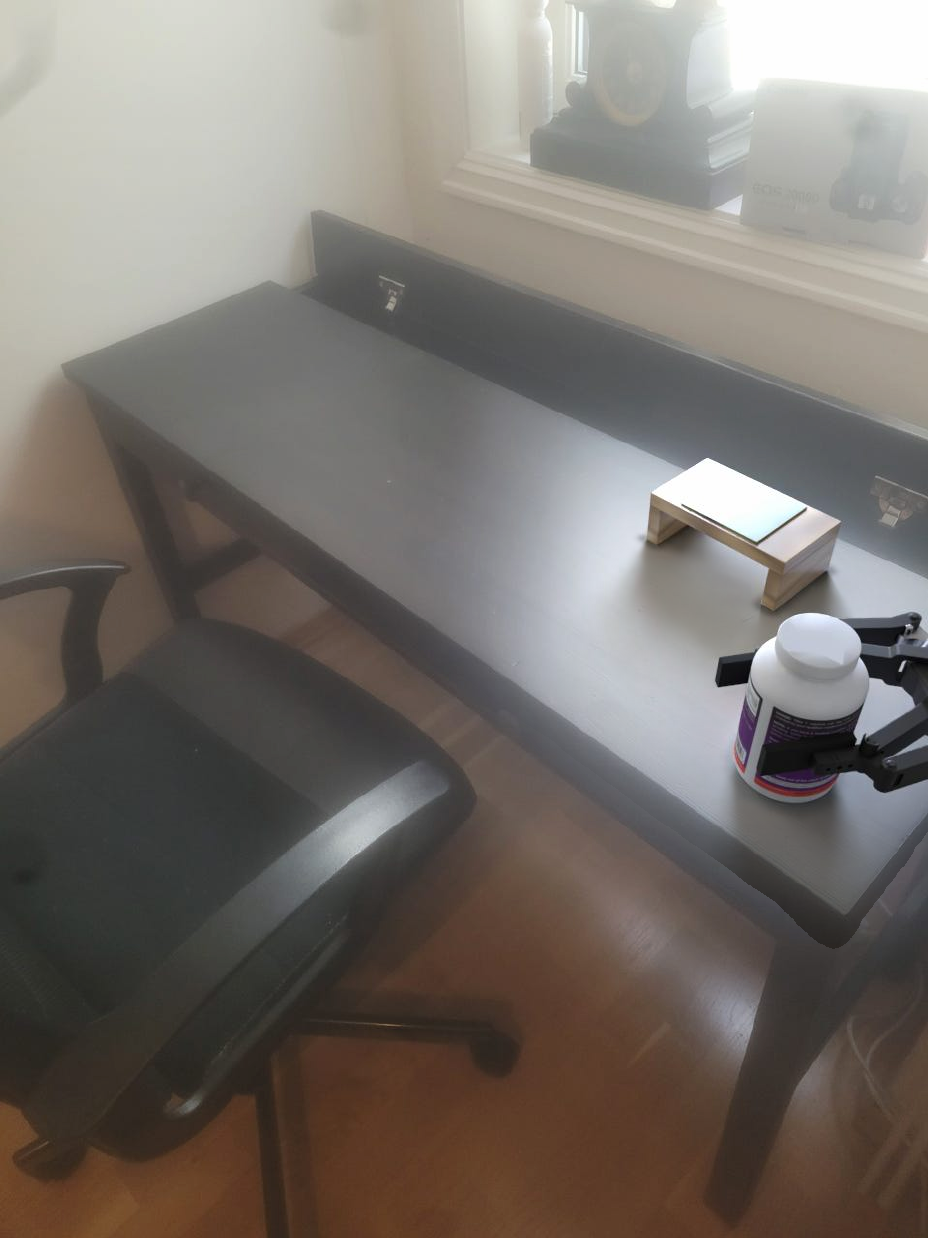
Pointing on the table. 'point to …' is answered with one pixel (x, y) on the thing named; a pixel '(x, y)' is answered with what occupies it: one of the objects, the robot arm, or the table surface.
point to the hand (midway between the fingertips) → (739, 714)
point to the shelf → (748, 525)
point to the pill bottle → (800, 699)
